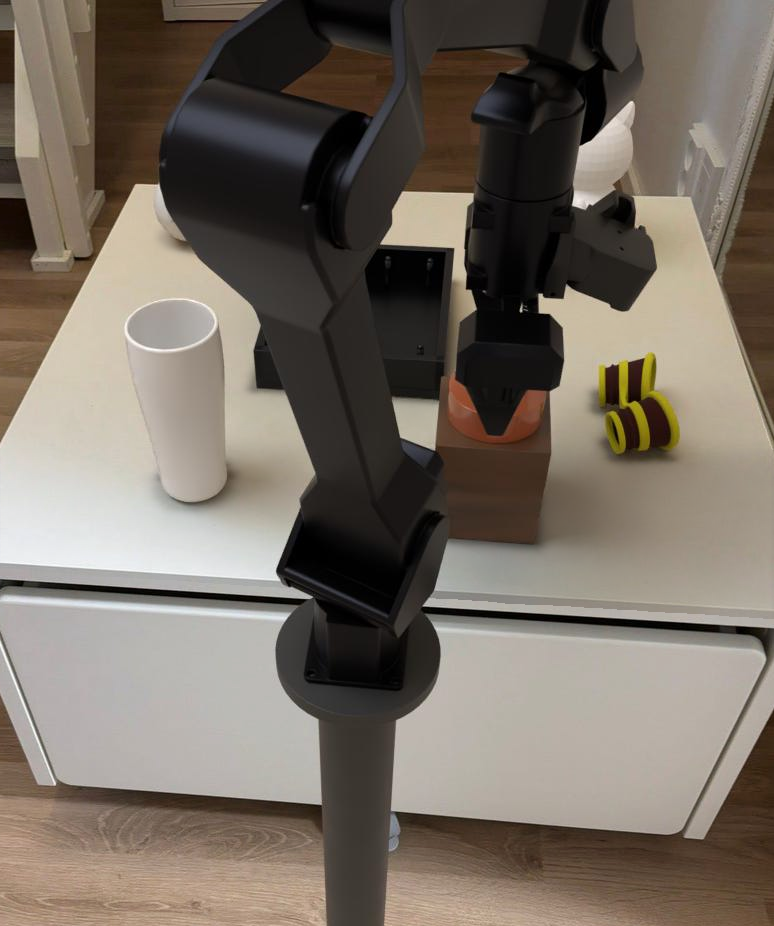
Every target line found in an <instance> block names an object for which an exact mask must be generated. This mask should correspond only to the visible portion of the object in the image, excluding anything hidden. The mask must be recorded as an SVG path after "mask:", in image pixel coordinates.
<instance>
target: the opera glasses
mask: <svg viewBox="0 0 774 926" xmlns="http://www.w3.org/2000/svg"><path fill="white" fill-rule="evenodd" d="M657 369H658V368H657V357H656V354H655V353H654V352H647V353H646V354H645V356H644V357H643V358H638V359H635V360H634V359H633V360H631V361H629V359H625V360H622V361H619V362H618V364H614V363H612V364H611V365H610V366H608V367H607V366H606V365H605V364H600V365H598V406H599V407H603V408H604V407H606V405H607V404H608V405H610V406H611V407H614V406H618V407H619V409H618V411H617V412H616V411H615V410H611V411H608V412H605V417H604V426H605V432H606V436H607V439H608V442H609V443H608V444H609V445H610V448H611V449H612V451H613V452H614V453H615V454H616V455H619V454H623V453H625V450H627V451H628V452H631V451H633V450H635V451H639V452H640V451H648V450H649V448H660V449H661V450H664V451H671V450H673V449H675V448H676V447H677V446H678V444H679V442H680V438H681V429H680V425H679V421H678V417H677V415H676V412H675V411H674V408H673V407H672V405H671V403H670V401H669V400H668V399H667V398H666V397H665V396H664V395H663V394H662V393H661V392H659V391H657V390H655V386H656V379H657Z"/></svg>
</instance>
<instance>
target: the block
mask: <svg viewBox="0 0 774 926" xmlns="http://www.w3.org/2000/svg"><path fill="white" fill-rule="evenodd" d="M450 378H451V376H444V377H441V385H440V396H439V399H438V408H437V419H436V420H437V422H436V432H435V442H434V443H435V445H434V451H437V452H438V453H439V454H440V456H441V458H442V459H443V461H444V476H445V482H446V485H447V486H449V487H450V490H449V492H448V494H447V495H445V496H444V497H445V499H446V502H447V517H449V518H450V521H451V526H450V532H449V537H448V539H463V540H476V541H489V542H499V543H513V544H514V543H516V544H525V545H526V544H529V545H535V542H536V537H537V533H538V527H539V522H540V516H541V510H542V507H543V506H542V505H543V500H544V495H545V490H546V484H547V480H548V474H549V469H550V463H551V458H552V453H553V451H552V450H553V449H552V419H551V391H547V394H546V400H545V405H544V411H543V416H542V421H541V424H540V426H539V427H538V428H537V430H536V431H535V432H534V433H533V434H531V435H530V436H528V437H526V438H524V439H522V440H519V441H515V442H510V443H500V444H498V443H486V442H481V441H477V440H474V439H472V438H469V437H467V436H465V435H463V434H462V433H460V432H459V431H458V430H456V429H455V428H454V427H453V425H452V424H451V423H450V421H449V419H448V416H447V401H448V390H449V381H450Z"/></svg>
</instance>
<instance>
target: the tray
mask: <svg viewBox="0 0 774 926" xmlns="http://www.w3.org/2000/svg"><path fill="white" fill-rule="evenodd" d="M454 258H455V247H446V246H445V247H444V246H443V247H442V246H424V245H406V244H405V245H402V244H401V245H400V244H382V243H381V244H380V245H379V247H378V248H377V250H376V251H375V253H374V255H373V256H372V258H371V259H370V261H369V262H368V264H367V266H366V267H365V278H366V283H367V288H368V293H369V297H370V302H371V306H372V311H373V315H374V320H375V324H376V329H377V334H378V338H379V343H380V347H381V352H382V356H383V361H384V365H385V370H386V374H387V379H388V384H389V388H390V393H391V397H394V398H411V399H425V400H426V399H428V400H439V396H440V385H441V377H445V368H446V356H447V345H448V333H449V319H450V307H451V296H452V285H453V271H454V261H455V259H454ZM252 351H253V362H254V375H255V386H256V389H268V390H269V389H270V390H284V387H283V385H282V382H281V379H280V376H279V374H278V371H277V368H276V366H275V363H274V360H273V358H272V355H271V352H270V350H269V347H268V344H267V341H266V339H265V336H264V333H263V331H262V328H261V325H259V329H258V334H257V337H256V340H255V343H254V347H253V350H252ZM284 391H285V390H284Z"/></svg>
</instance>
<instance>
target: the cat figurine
mask: <svg viewBox="0 0 774 926" xmlns="http://www.w3.org/2000/svg"><path fill="white" fill-rule="evenodd" d="M635 115H636V104H635V102H634V101H632V100H631V101H630V102H629V103H628V104H627V105H626V106H625V107H624V108H623V109H622V110H621V111H620V112H619V113H618V114H617V115H616V116H615V117H614V118H613V119H612V120H611V121H610V122H609V123H608V124H607V125H606V126H605V127H604V128H603V129H602V130H601V131H600V132H599V133H598V134H597V135H596V136H595V137H594V138H593V139H592V140H591V141H590V142H587V143H585V144H584V145H582V146H579V151H578V157H577V163H576V169H575V175H574V181H573V186H574V198H573V204H572V206H575V207H578V208H581V209H584V210H586V208H587V207H588V205H589V204H590V205H594V204H595V203H596V202H598V201H599V200H601V199H602V198H603V197H605V196H606V195H608V194H609V193H611V192H612V191H613V190H617V189H616V187H615V186H614V184H615V183H616V182H618V181H619V180H620V179H621V178H622V177H623V176H624V175H625V174H626V173H627V171H628V170H629V168H630V166H631V163H632V160H633V156H634V142H633V134H632V130H631V128H632V126H633V124H634V120H635Z"/></svg>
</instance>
